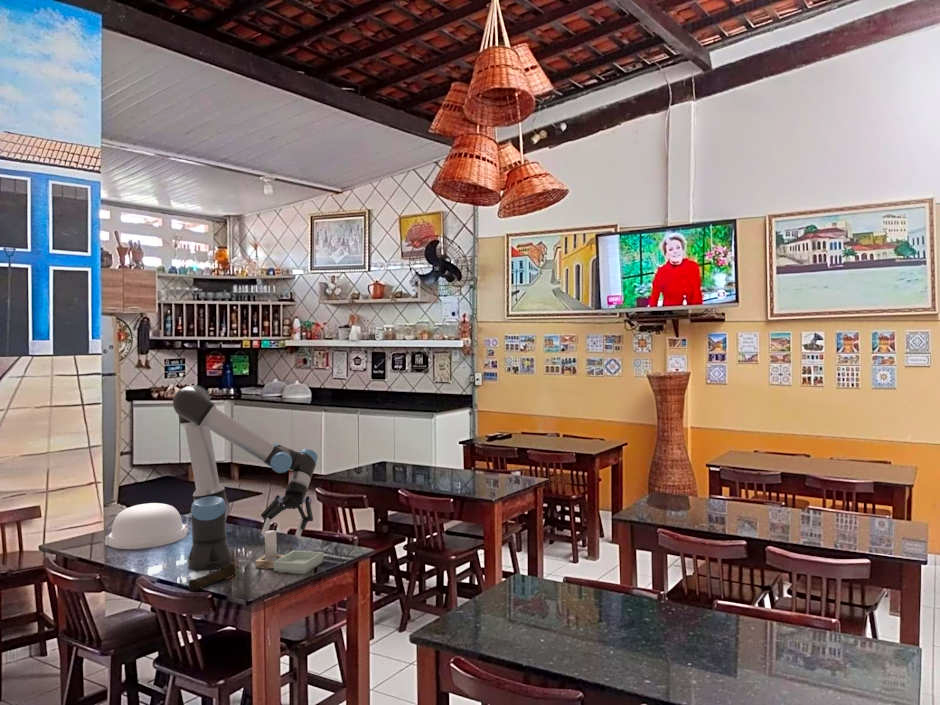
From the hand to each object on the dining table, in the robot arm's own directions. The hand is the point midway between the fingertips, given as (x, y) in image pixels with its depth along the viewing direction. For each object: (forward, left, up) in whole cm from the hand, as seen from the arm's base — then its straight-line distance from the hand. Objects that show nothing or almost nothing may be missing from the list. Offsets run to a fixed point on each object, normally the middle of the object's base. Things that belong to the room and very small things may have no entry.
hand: (280, 536), depth 271 cm
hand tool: (-11, -25, -10) cm, 29 cm away
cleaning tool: (-1, -4, -9) cm, 10 cm away
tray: (+10, -4, -9) cm, 14 cm away
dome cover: (-72, +19, -10) cm, 75 cm away
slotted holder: (-1, -4, -9) cm, 10 cm away
